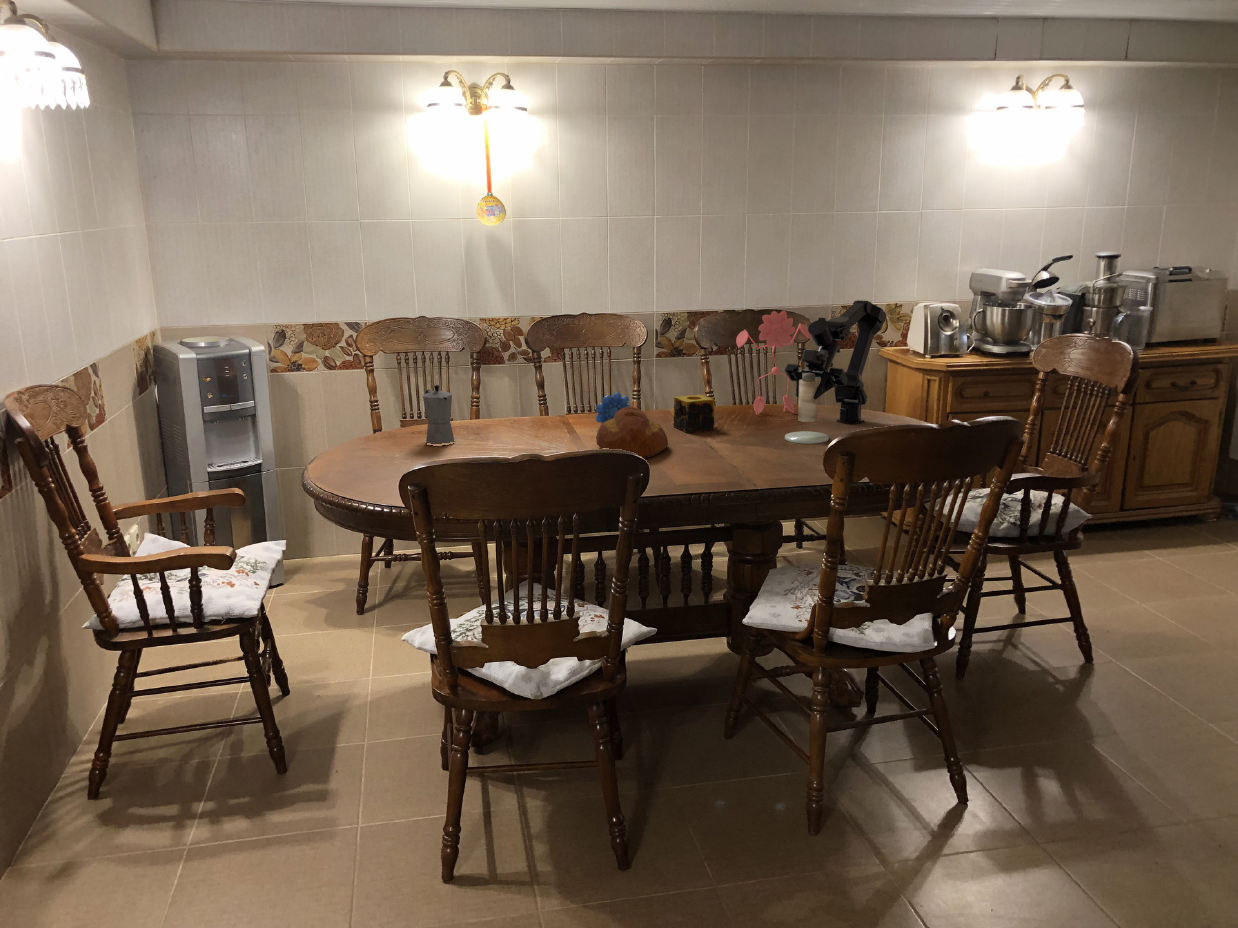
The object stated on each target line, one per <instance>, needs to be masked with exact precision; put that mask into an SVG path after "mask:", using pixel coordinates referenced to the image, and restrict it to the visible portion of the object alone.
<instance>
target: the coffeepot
mask: <svg viewBox="0 0 1238 928" xmlns="http://www.w3.org/2000/svg"><path fill="white" fill-rule="evenodd" d="M422 398H423V399H422V401H423V404H424V405H423V406H424V409H425V414H426V418H427V429H426V430H427V431H426V440H425V441H426V442H425V444H426V443H431V444H442V443H450V442H456V440H455V436H454V431H453V427H452V422H451V417H452V416H451V414H452V413H451V412H452V401H453V394H452V392H447V391H444V390H443V391H442V390H440V385H438V384H435V385H434V390H431V389H426V390H425V392H424V394H423V393H422ZM454 440H455V441H454Z"/></svg>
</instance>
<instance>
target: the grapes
mask: <svg viewBox="0 0 1238 928" xmlns="http://www.w3.org/2000/svg"><path fill="white" fill-rule="evenodd" d="M629 402H630V399H629V397H628V396H627V395H624V396H622V394H621V393H620V392H614V393H613V394H612V396H611V395H608V394H607V395H605V396H604V397H603V398H602V403H599V404H597V405H596V408H595V412H597V413H598V414H596V416H595V421H596V423H601V424H603V423H604V422H606V421H608V420H610V419H612V418H614V416H615V414H616V412H618V411H619V410H620V409H622V408H626V407H629V406H631V405H630V404H629ZM601 424H600V425H601Z"/></svg>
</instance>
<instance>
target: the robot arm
mask: <svg viewBox="0 0 1238 928" xmlns="http://www.w3.org/2000/svg"><path fill="white" fill-rule="evenodd" d="M886 319H887V312H885V310H883V308H881V307H880V306H877V305H876V304H873V303H872V302H871V301H869V300H864V299H863V300H862V299H860V300H859V299H857V300H854V302H853V304H852V305H851V306H849V307H848V308H847V309H846V310H845V311H844V312H843V313H842V314H840V315H839V316H837V317H834V318H830V319H826V317H818V319H817V320H815V321H813V322H811V323H810V324H809V325H808V326H807V327H808V332H809V334H810V336H811V338H812V340H811V341H813V343H814V345H816V346H817V348H816V350H814V349H813V350H811V349H804V350H803V353H802V357H801V361H802V362H805V367H807V369H805V368H803V367H801V365H800V364H799V363H798V364H797V363H787V364H786V366H785V368H784V372H785V373H786V376H788V377H789V381H792V382H796V385H795V386H796V389H795V390H796V391H795V396H796V398H799V380H801V379H802V374H803V373H814V374H815V379H820V382H819V383H818V388H817V390H816V392H815V395H814V399H817V400H818V399H819V398H820V397H821V396H823V395H824V394H825V393H827V392H828V391H829V390H831V389H832V388H834V396H835V403H840V408H839V418H838V419H836V422H840V423H844V424H849V425H854V424H859V423H863V422H865V419H862V418H861V417H862V406H865V405H866V403H867V401H868V395H867V393H866V391H865V389H864V388H865V387H864V386H865V384H864V381H863V378H862V376H863V372H864V369H865V366H866V363H867V360H868V356H869V354H870V349H871V348H872V347H871V346H872V343H873V340H874V337H875V336H876V335H877V334H878V333H880V331H882V328H883V326H884V323H886V321H887V320H886ZM856 323H857V327H858V330H859V331H858V334H857V337H856V341H855V344H854V347H853V351H852V353H851V357H850V360H849V363H848V367H847V369H846V371H845V370H844V368H841V367H834V362H833V361H834V359H835V356H836V354H839V353H841V348H840V344H839V343H838V341H845V340H847V338H848V337H849V336H850V334H851V328H852V327H853V326H854V325H855V324H856ZM788 377H787V378H788Z"/></svg>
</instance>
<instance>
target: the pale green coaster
mask: <svg viewBox="0 0 1238 928" xmlns="http://www.w3.org/2000/svg"><path fill="white" fill-rule="evenodd" d="M784 439H785V440H786V441H787V442H790V443H794V444H802V445H804V444H805V445H813V444H814V445H815V444H816V445H818V444H823V443H826V442H829V439H830V437H829V435H828V434H826V433H823V432H818V431H806V430H805V431H792V432H789V433H788V432H787V433H786V434H785V435H784Z"/></svg>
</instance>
